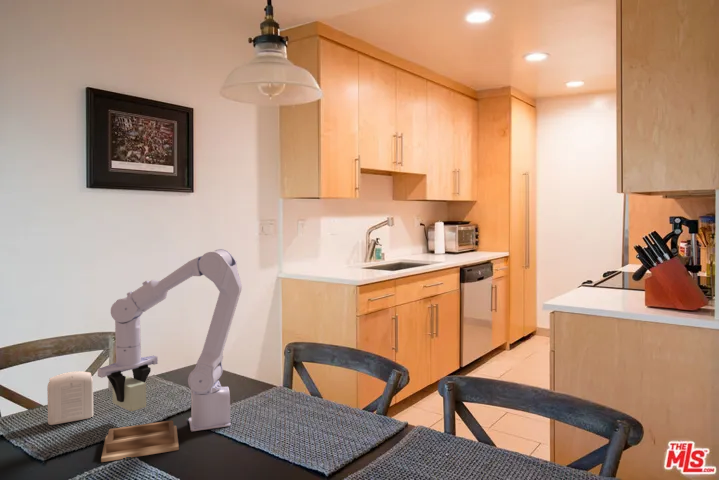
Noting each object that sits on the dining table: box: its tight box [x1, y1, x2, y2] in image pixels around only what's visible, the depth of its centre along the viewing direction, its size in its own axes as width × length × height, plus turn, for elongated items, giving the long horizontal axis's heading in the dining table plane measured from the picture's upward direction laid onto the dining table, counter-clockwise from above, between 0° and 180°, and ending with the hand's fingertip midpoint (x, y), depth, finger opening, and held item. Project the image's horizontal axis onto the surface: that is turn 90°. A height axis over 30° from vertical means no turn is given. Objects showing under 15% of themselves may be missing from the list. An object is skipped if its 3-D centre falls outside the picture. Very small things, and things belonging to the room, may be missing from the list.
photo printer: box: [47, 370, 94, 426], centre depth 131 cm, size 10×4×12 cm, turn 123°
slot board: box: [100, 419, 180, 463], centre depth 118 cm, size 16×12×3 cm
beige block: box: [111, 375, 147, 412], centre depth 129 cm, size 4×9×6 cm, turn 52°
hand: (129, 398), depth 129 cm, fingers closed on beige block, 4 cm apart
